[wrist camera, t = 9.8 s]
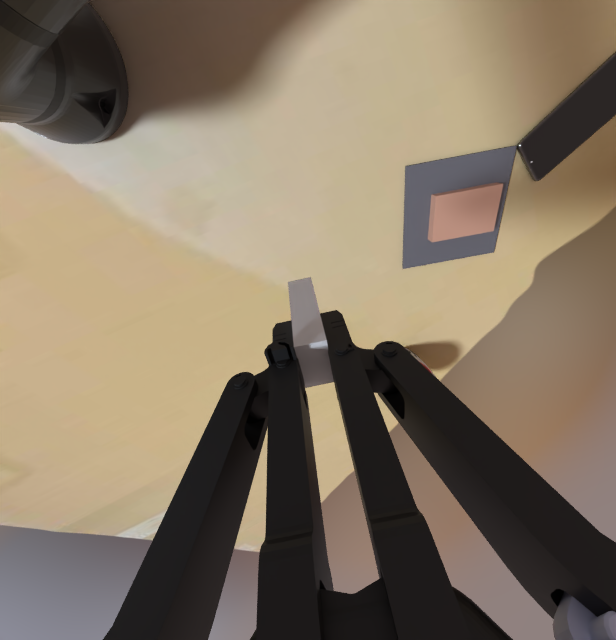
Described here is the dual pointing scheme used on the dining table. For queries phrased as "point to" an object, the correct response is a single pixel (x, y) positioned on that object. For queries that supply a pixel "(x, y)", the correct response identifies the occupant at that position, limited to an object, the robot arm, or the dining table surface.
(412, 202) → the mat
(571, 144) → the smartphone
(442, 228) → the slab
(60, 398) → the dining table surface
